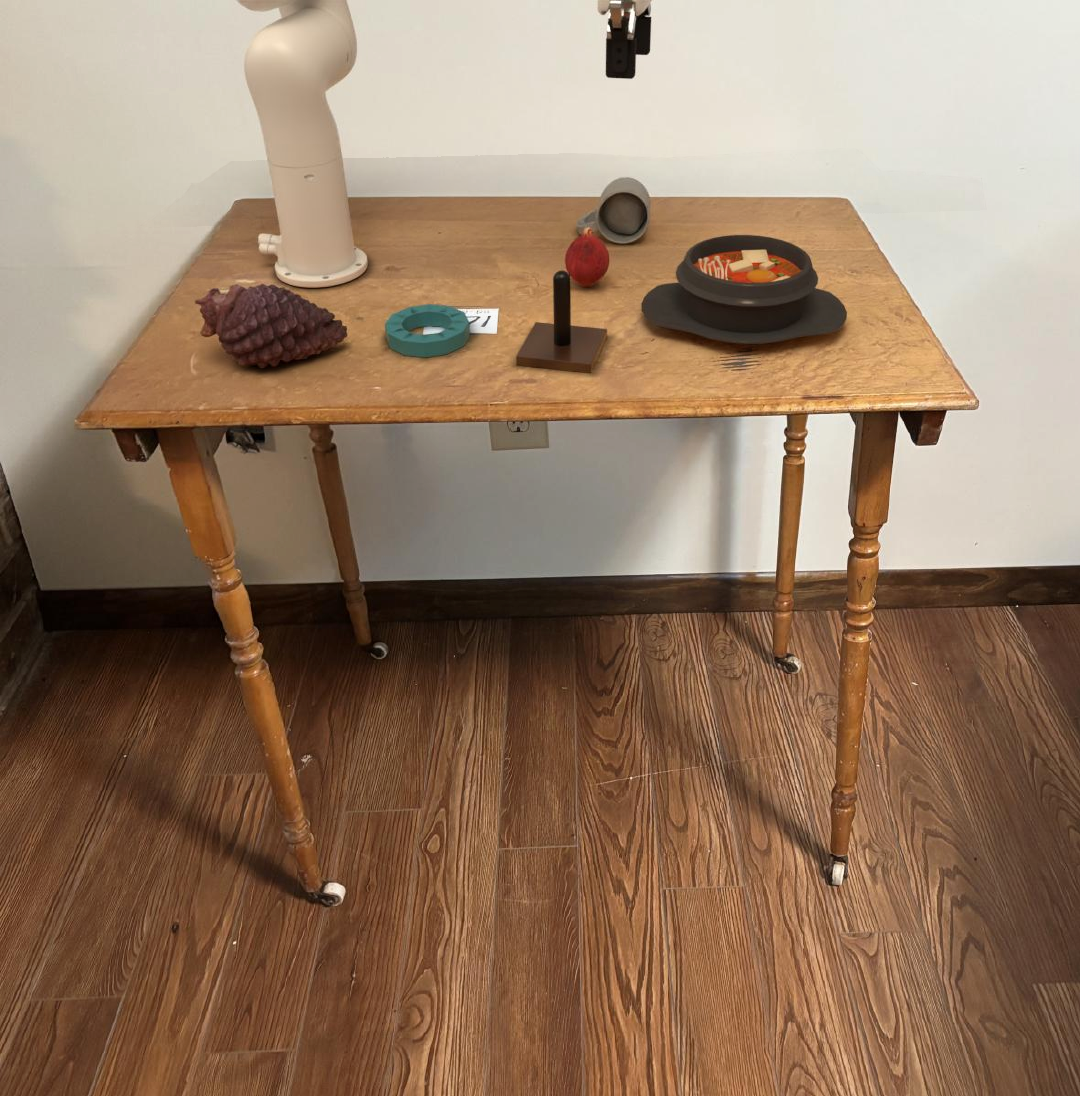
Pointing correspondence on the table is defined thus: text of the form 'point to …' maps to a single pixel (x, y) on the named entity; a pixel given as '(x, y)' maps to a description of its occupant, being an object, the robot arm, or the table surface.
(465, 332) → the ring
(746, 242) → the casserole
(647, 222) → the ceramic mug
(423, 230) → the table surface
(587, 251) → the onion
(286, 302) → the pine cone
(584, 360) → the stand
